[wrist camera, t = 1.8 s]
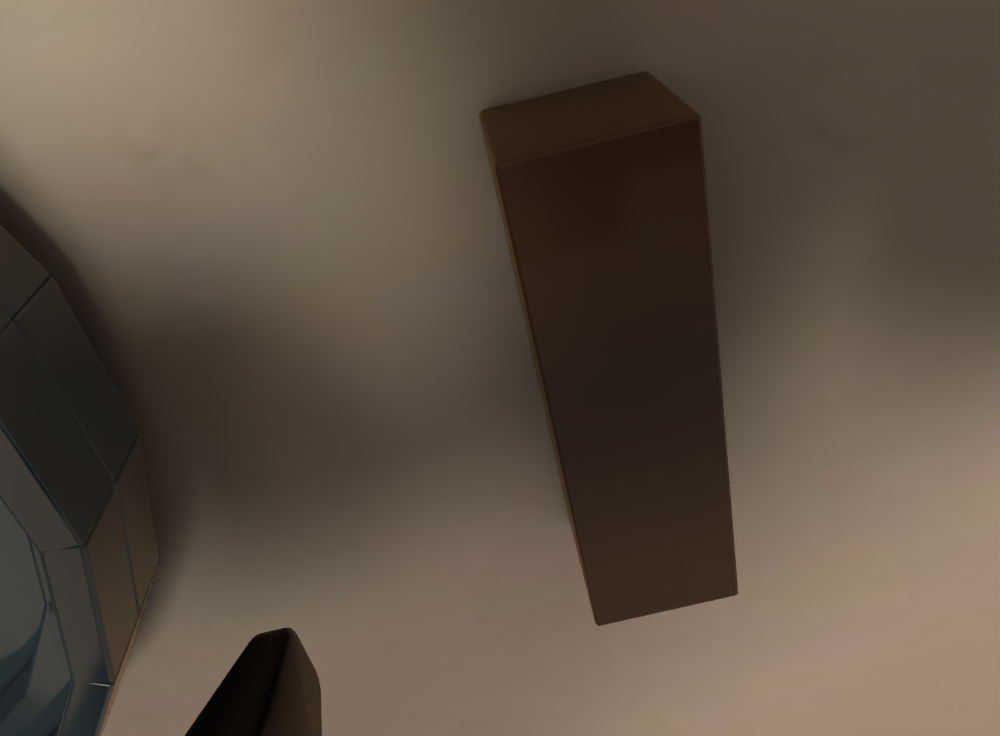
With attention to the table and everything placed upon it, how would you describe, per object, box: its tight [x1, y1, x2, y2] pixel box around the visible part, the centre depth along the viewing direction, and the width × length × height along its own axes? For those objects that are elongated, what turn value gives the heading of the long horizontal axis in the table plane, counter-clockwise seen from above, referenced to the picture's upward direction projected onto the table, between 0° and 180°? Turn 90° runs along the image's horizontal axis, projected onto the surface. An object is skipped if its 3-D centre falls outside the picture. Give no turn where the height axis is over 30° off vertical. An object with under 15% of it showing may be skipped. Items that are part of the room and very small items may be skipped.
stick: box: [479, 72, 738, 626], centre depth 12 cm, size 8×2×2 cm, turn 12°
